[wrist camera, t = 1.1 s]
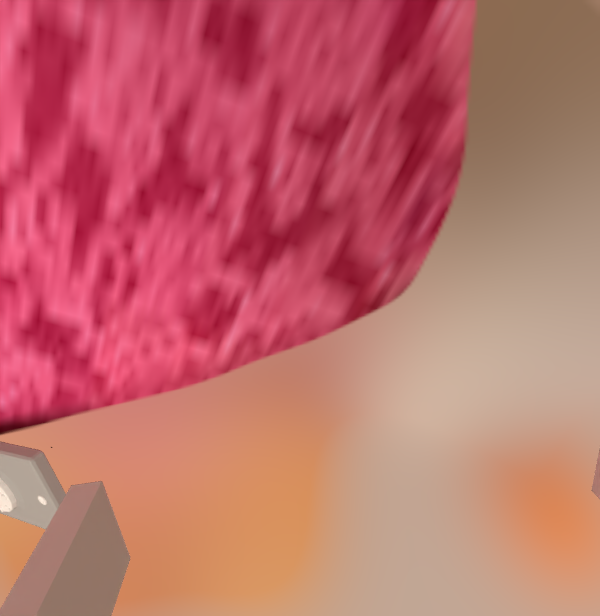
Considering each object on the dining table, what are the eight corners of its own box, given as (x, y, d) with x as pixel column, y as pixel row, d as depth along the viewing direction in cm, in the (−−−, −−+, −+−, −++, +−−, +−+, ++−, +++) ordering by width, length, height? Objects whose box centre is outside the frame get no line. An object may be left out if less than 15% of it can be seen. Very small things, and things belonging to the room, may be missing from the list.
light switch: (-78, 443, 37) (18, 469, 31) (-11, 404, 42) (84, 418, 35) (-31, 513, 40) (65, 550, 34) (26, 469, 45) (120, 493, 39)
